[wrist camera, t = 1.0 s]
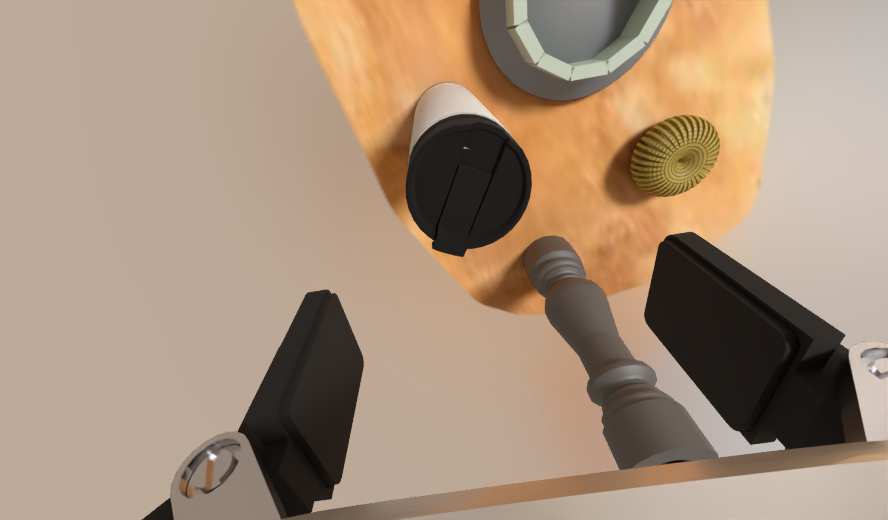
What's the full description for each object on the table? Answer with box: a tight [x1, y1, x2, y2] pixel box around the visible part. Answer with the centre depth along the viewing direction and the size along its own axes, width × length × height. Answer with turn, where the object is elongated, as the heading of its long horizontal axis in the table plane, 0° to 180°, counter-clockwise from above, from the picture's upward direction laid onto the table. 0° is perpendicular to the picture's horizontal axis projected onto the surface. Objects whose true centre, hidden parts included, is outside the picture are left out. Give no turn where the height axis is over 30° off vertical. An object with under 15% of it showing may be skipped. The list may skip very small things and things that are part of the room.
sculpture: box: [630, 115, 720, 197], centre depth 34 cm, size 8×4×8 cm
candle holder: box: [523, 236, 718, 470], centre depth 31 cm, size 6×6×25 cm
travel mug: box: [406, 82, 532, 257], centre depth 24 cm, size 6×7×20 cm
